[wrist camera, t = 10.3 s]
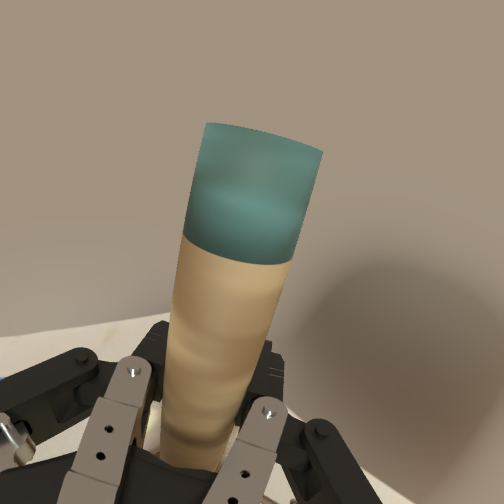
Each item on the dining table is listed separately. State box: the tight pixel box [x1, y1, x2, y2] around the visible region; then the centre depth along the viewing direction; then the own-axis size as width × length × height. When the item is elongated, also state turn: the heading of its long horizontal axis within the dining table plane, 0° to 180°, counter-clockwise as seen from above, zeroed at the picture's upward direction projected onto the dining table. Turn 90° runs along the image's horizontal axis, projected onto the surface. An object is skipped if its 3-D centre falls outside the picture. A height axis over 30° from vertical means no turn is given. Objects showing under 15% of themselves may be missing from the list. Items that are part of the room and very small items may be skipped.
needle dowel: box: [160, 123, 323, 472], centre depth 11 cm, size 3×3×20 cm
